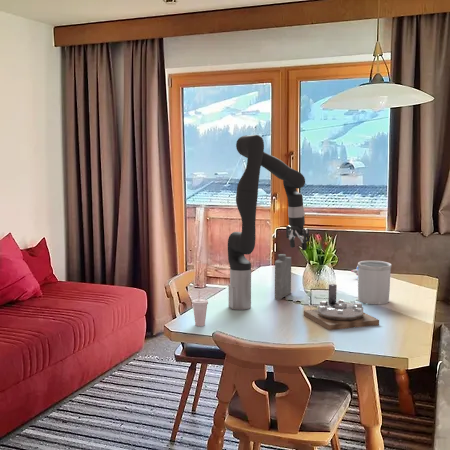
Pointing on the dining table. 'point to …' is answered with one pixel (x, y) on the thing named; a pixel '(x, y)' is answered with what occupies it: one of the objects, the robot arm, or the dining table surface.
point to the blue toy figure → (355, 270)
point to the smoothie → (200, 310)
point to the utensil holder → (374, 282)
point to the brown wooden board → (340, 321)
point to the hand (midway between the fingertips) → (298, 248)
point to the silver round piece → (339, 307)
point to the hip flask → (282, 276)
